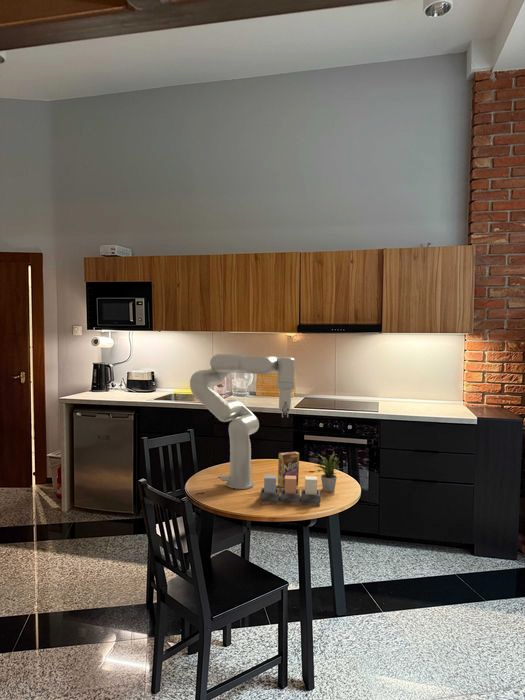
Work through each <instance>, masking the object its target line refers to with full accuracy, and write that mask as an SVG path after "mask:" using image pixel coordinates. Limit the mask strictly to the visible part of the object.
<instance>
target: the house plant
mask: <svg viewBox="0 0 525 700" xmlns="http://www.w3.org/2000/svg"><path fill="white" fill-rule="evenodd" d="M317 455H318V456H319V457H321V460H319V459H316V458H313V459H314V460H316V461H317V462H319V464H317V465H316V464H314V465H313V466H314V467H316V468H317V469H316V472H317V473H320V472H323V474H321V475H320V480H321V485H322V486H321V487H322V490H323V491H324V492H329V493H331V491H332V492H334V491H335V489H336V483H337V478H338V476H337V475H336V474H337V472H336V471H337V470H339V469H340V470H341V469H342V470H343V467H339V468H336V467H337V465H338V464H339V462H338V459H339V457H337V456H335V453H333V454H331V455H330V457H329V459H327V458H326V457H325V456H322V455H320V454H318V453H317ZM334 457H335V458H334ZM335 468H336V469H335Z"/></svg>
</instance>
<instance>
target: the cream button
mask: <svg viewBox="0 0 525 700" xmlns="http://www.w3.org/2000/svg"><path fill="white" fill-rule="evenodd" d="M304 489H305V494H312V495H317V490H318V477H317V476H315V475H314V476H313V475H305V476H304Z"/></svg>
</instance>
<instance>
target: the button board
mask: <svg viewBox="0 0 525 700" xmlns="http://www.w3.org/2000/svg"><path fill="white" fill-rule="evenodd" d="M280 488H281V487H276V493H264V487H261V490H260V494H259V495H260V497H259V498H260V500H259V501H260V504H261V505H276V506H277V505H280V506H281V505H282V506H284V505H285V506H308V507H311V506H314V507H320V506H321V490H320V489H317V495H312V494H305V488H302V489H301V491H300V489H299V488H296V494H285V487H282V488H281V490H280ZM300 493H301V494H300Z"/></svg>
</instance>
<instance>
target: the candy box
mask: <svg viewBox="0 0 525 700" xmlns="http://www.w3.org/2000/svg"><path fill="white" fill-rule="evenodd" d="M277 467H278V468H277V486H278V487H279V488H285V475H286V476H296V487H297V486H299V473H300V472H299V469H300V468H299V467H300V453H299V452H297V451H286V452H279V453H278V466H277Z"/></svg>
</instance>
